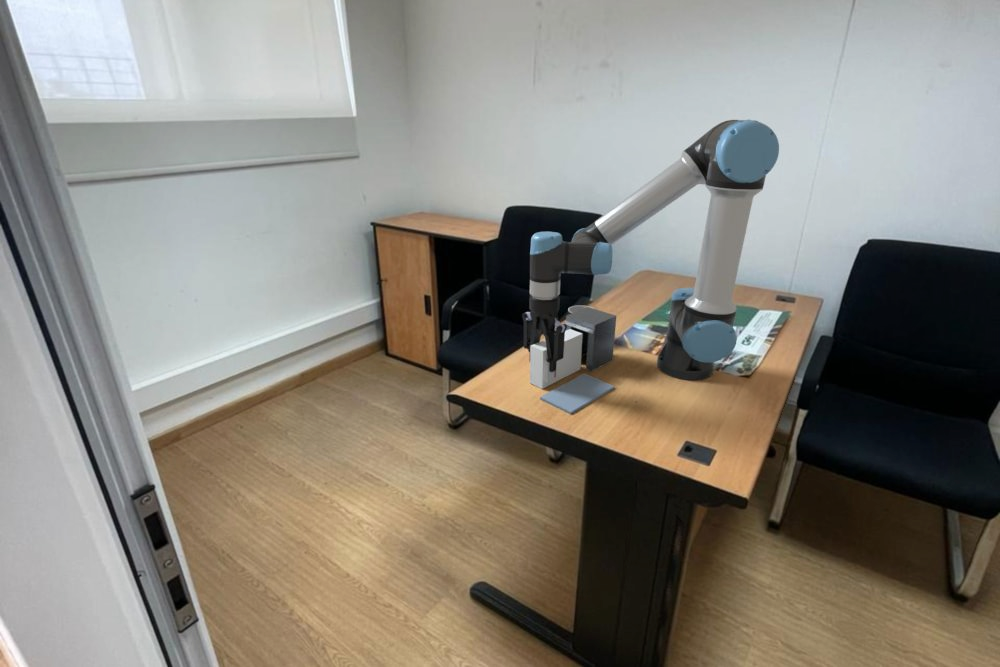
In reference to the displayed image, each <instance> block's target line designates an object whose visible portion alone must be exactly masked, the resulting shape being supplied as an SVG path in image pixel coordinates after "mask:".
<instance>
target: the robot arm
mask: <svg viewBox="0 0 1000 667" xmlns="http://www.w3.org/2000/svg"><path fill="white" fill-rule="evenodd" d="M779 153H780V143H779V139H778V137H777V135H776V133H775V132H774V130H773V129H772V128H771V127H769V126H768V125H766V124H765V123H763V122H760V121H758V120H754V119H742V120H741V119H729V120H725V121H722V122H720V123H718V124H716V125H715V126H713V127H711V128H710V129H709V130H708V131H707V132H706V133H704V134H703V135H702V136H701V137H699V138H698V139H697V140H695V141H694V142H693V143H692V144H691V145H689V146H688V147H687V148H685V149H684V150H683V151H682V152H681V155H680V157H679V159H678V160H676V161H675V162H674V163H672V164H671V165H670V166H668V167H666V169H664V170H662V171H661V172H660V173H658V174H657V175H656V176H654V177H653V178H652V179H651V180H649V181H648V182H647V183H645V184H643V186H641V187H640V188H638V189H636V190H635V191H634V192H633V193H631V194H630V195H629V196H627V197H626V198H625V199H623V200H622V201H621V202H619V203H618V204H616V206H614V207H612V208H611V209H610V210H607V212H606V213H605V214H602V216H600V217H599V218H598V219H596V220H595V221H594V222H592V223H591V224H590V225H588V226H586V227H584V228H580V229H578V230H577V231H576V232H575V233H574V234H573V237H572V238H571V241H564V240H563V235H562V234H561V233H560V232H555V231H539V232H538V231H537V232H535V233H534V234H533V235H532V236H531V238H530V252H529V306H528V308H529V310H530V311H526V312H524V313H522V314H521V317H522V320H523V321H522V322H523V348H524V350H525V349H526V350H528V352H529V354H530V346H531V345H533V344H536V343H538V342H540V341H541V336H542V334H543V336H544V340H546V347H547V354H548V359H547V360H546V368H545V383H549V382H551V381H553V380H554V371H556V363H557V361H558V360H561V359H563V355H564V338H565V331H566V328H567V325H566V324H565V323H562V322H560V321H559V317H558V313H559V310H560V301H561V300H560V297H561V296H559V295H560V294H561V274H573V275H574V274H579V275H594V276H598V275H607V274H609V273H610V272H611V271H612V265H613V252H614V251H613V245H614V244H615V243H616V242H618V241H619V240H621V239H622V238H624V237H625V236H626V235H628V234H630V233H631V232H632V231H634V230H635V229H637V228H638V227H639V226H641V225H642V224H644V223H645V222H646V221H648V220H650V219H651V218H652V217H654V216H655V215H656V214H658V213H659V212H660V211H662V210H663V209H666V207H667V206H669V205H670V204H672V203H673V202H675V201H676V200H678V199H679V198H681V197H682V196H684V195H685V194H686V193H688V192H689V191H690V190H692V189H693V188H694V187H696V186H697V185H703V186H705V187H706V188H707V190H708V191H709V193H710V199H709V203H708V204H709V205H708V210H707V215H706V216H707V217H706V220H705V227H704V233H703V238H702V241H701V242H702V244H701V249H700V255H699V258H698V259H699V261H698V265H697V271H696V276H695V284H694V287H682V288H681V287H680V288H677V289H675V290H673V292H672V295H671V299H670V307H669V308H670V310H669V317H668V318H669V319H668V326H667V335H666V340H665V342H664V344H663V346H662V348H661V349H660V351H659V353H658V355H657V360H656V367H657V368H658V370H660V371H661V372H663V373H664V374H665V375H668V376H670V377H674V378H677V379H681V380H682V379H683V380H688V381H689V380H693V381H694V380H695V381H696V380H703V379H708V378H709V377H711V376H712V375H713V374H714V370H715V362H719V361H721V360H723V359H724V358H727V357H728V356H730V354H731V353H733V351H734V350H735V347H736V345H737V340H738V339H737V334H736V330H735V329H734V323H735V319H736V314H737V309H738V308H737V306H736V304H735V303H734V302H733V301H732V299H733V295H734V294H733V293H734V289H735V285H736V281H737V280H736V279H737V276H738V272H739V265H740V261H741V256H742V252H743V248H744V243H745V237H746V234H747V229H748V223H749V219H750V214H751V209H752V204H753V200H754V197H755V196H756V195H758V194H759V193H760V192H762V191H763V189H764V185H765V181H766V176H767V175H768V174H769V172H770V171H772V169H773V168H774V167H775V165H776V163H777V161H778V158H779V155H780V154H779ZM528 360H529V362H530V357H529V359H528Z"/></svg>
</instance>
